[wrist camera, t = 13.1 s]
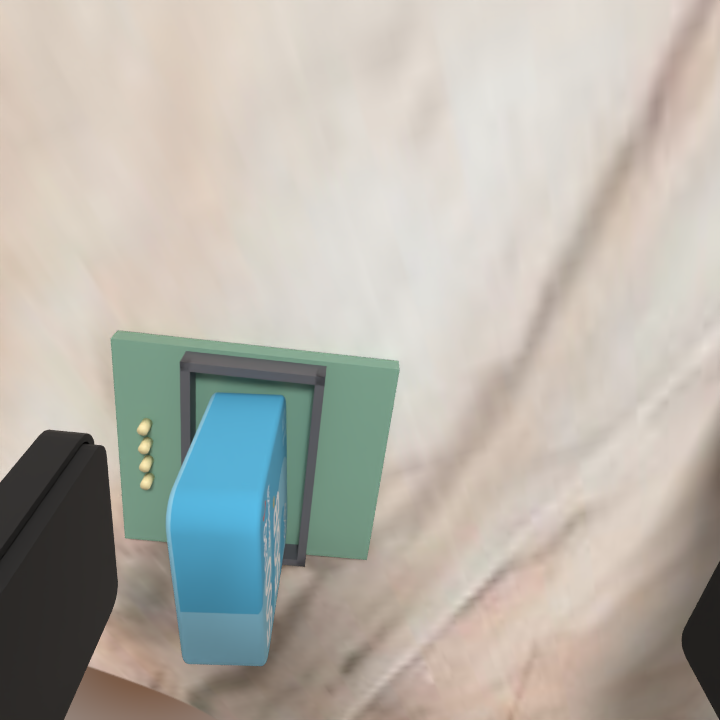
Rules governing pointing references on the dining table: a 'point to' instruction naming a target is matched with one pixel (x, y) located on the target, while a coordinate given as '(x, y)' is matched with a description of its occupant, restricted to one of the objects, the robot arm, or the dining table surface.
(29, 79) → the dining table surface
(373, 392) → the circuit board
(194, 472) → the data package
